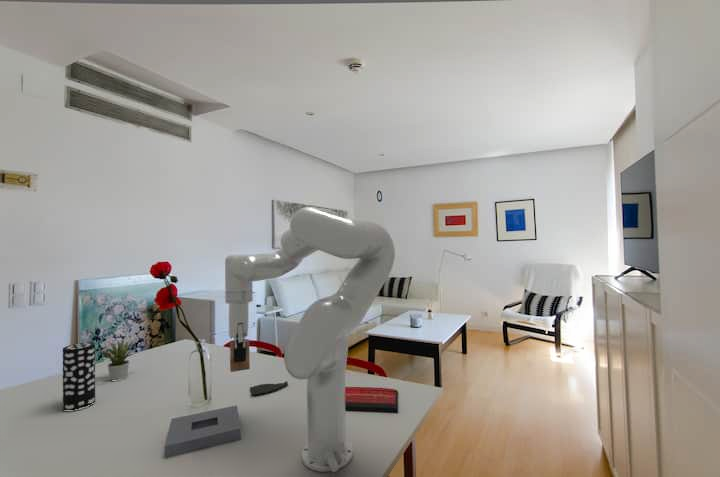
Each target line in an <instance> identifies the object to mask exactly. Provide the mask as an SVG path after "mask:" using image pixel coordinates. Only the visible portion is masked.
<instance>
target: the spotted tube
mask: <svg viewBox="0 0 720 477" xmlns="http://www.w3.org/2000/svg"><path fill="white" fill-rule="evenodd" d="M94 402H95V403H96V343H95V342H91V341H90V342H81V343H75V344H70V345H67V346H64V347H63V348H62V410H63V409H64V410H75V409H79V408H83V407H86V406H88V405H91V404H92V403H94ZM95 403H94V404H95Z"/></svg>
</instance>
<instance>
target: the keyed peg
mask: <svg viewBox="0 0 720 477" xmlns="http://www.w3.org/2000/svg"><path fill="white" fill-rule="evenodd" d="M245 347H246V361H242V362H234V348H235V341H234V340H230V341H229V364H230V365H229V369H230V373H235V372H240V371H246V370H250V369H251V368H250V365H251V364H250V340H249V338H245Z"/></svg>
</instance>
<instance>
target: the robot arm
mask: <svg viewBox="0 0 720 477" xmlns="http://www.w3.org/2000/svg"><path fill="white" fill-rule="evenodd" d="M280 246H281V248H280V249H279V250H277V251H275V252H273V253H255V254H231V255H230V254H229V255H227V256H226V258H225V259H224V266H225V267H224V269H225V270H224V274H225V275H224V276H225V278H224V280H225V281H224V282H225V283H224V284H225V286H224V288H225V290H224V291H225V293H224V294H225V295H224V296H225V297H224V298H225V300H224V301H225V304H228V337H229V339H230V340H232V339H233V341H235V348H234V362H242V361H246V347H245V339H246V338H247V337H248V335H249V333H248V332H249V303H251V302H253V282H258V281H259V282H260V281H265V280H273V279H277V278H280V277H282V276H284V275H286V274H288V273H290V272H291V271H293V270H296V268H297V267H298V266H299V265H300V264H301V263H302V262H303V259H305V258H307V257H308V256H310V255H312V254H315V252H317V251H321V252H323V253H326V254H328V255H330V256H333V257H336V258H339V259H343V260H355V259H356V260H357V259H358V261H357V262H356V263H355V265H354V266H353V267H351V269H350V270H349V272H348V273H347V275H346V276H345V279H344V280H343V282H342V284H341V285H340V287H339V288H338V290H337V291H336V292H335V293H334V294H332V295H329V296H326V297H322V298H320V299H318V300H316V301H314V302H313V303H312V304H311V305H310V306H309V307H307V309H306V310H305V312H304V313H303V315H302V317H301V318H300V320H299V322H298V324H297V326H296V327H295V329H294V330H293V333H292V334H291V337H290V338H289V340H288V342H287V344H286V346H285V350H284V355H283V362H284V363H283V364H284V366H285V370H286V371H287V372H288V375H290V376H291V377H292V378H294V379H297V380H300V381H301V380H307V382H306V383H307V384H306V406H307V407H306V408H307V409H306V410H307V411H306V414H307V415H306V416H307V444H306V445H305V446H304V447H303V448H302V450H301V460H302V463H303V464H304V465H305V466H306V467H307V469H309V470H310V469H311V470H312V471H315V472H322V473H323V472H324V473H325V472H333V473H336V472H337V471H339V470H340V469H342V468H343V467H345V466H346V465H348V463H349V462H351V460H352V458H353V454H354V453H353V452H354V449H353V446H352V444H351V443H350V441H348V440H347V413H346V412H347V411H346V404H345V387H346V369H347V361H348V360H347V359H348V355H349V353H348V352H349V342H348V338H347V335H348V334H350V333H352V332H353V331H355V330H356V329H358V328H359V327H360V325H361V323H362V321H363V320H364V318H365V317H366V314H367V312H368V311H369V309H370V308H371V306H372V305H373V303H374V302H375V300H376V298H377V296H378V294H379V293H380V291H381V289H382V288H383V286H384V284H385V283H386V281H387V279H388V278H389V276H390V274H391V273H392V272H391V271H392V270H393V267H394V263H395V256H396V254H395V253H396V251H395V245H394V241H393V239H392V237H391V235H390V233H389V232H388V231H387V229H385V228H384V227H383V226H381V225H380V224H378V223H376V222H372V221H365V220H356V219H355V220H354V219H349V218H344V217H341V216H340V214H339V213H337V212H336V211H334V210H332V209H328V208H322V207H316V206H304V207H302V208H299V209H298V210H297V211H295V212H294V214H293V215H292V217H291V218H290V222H289V229H287V230H286V231H285V232H283V233H282V235H281V237H280Z"/></svg>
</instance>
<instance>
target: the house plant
mask: <svg viewBox="0 0 720 477" xmlns="http://www.w3.org/2000/svg"><path fill="white" fill-rule="evenodd" d="M125 339H126V337H124V338H122V339H121V342H120V340H118V339H117V347H116V345H115V344H114V343H113V342H109V341H106V342H105V343H107V344H108V345H110V346H111V348H107V347H105V346H102V345H100V347H101V348H104V349H106V350H107V351H108V352H109V353H108V352H107V351H104V350H98V352H99V353H101V354H102V355H103V356H101V357H100V359H101V358H105V359H109V360H108V361H107V363H109V362H110V363H109V364H107V370H108V375H109V379H110V381H111V380H119V379H122V378H125V377H126V376H128V371H129V366H130V365H129V364H130V361H129V360H127V358H128V357H130V356H133V355H135V354H134V353H133V352H135V351H133V350H131V351H129V352H127V351H128V350H129V349H130V348H131V347H132V346H133V345H134V342H135V341H138V340H140V339H141V338H137V339H134V340H133V341H131V342H130V339H129V340H127V341H126V342H125ZM129 342H130V343H129ZM126 378H127V377H126ZM126 378H125V379H126Z"/></svg>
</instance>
